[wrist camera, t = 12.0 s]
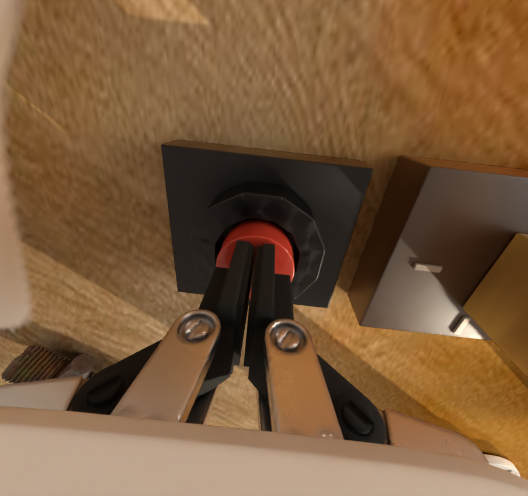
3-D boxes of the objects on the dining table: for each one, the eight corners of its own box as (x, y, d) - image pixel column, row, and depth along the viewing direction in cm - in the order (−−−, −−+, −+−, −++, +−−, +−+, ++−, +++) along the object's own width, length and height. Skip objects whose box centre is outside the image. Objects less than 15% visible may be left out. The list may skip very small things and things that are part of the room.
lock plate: (618, 179, 13) (711, 198, 10) (503, 312, 18) (544, 348, 15) (399, 154, 13) (433, 167, 10) (347, 294, 18) (359, 328, 15)
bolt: (56, 322, 23) (180, 389, 28) (20, 363, 23) (151, 425, 27) (13, 353, 18) (176, 432, 22) (-36, 408, 17) (140, 477, 22)
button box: (359, 160, 13) (390, 178, 9) (322, 286, 17) (333, 330, 14) (178, 139, 13) (141, 149, 9) (188, 272, 17) (166, 312, 14)
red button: (297, 223, 11) (301, 241, 10) (286, 281, 13) (288, 304, 12) (223, 215, 11) (215, 231, 10) (222, 274, 13) (215, 296, 12)
